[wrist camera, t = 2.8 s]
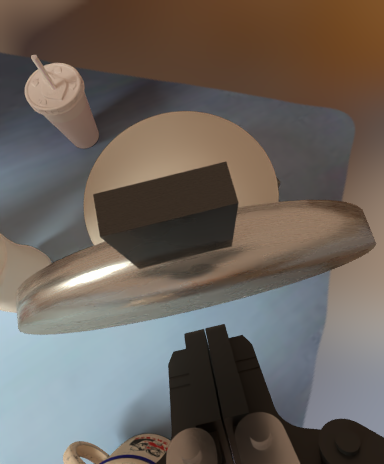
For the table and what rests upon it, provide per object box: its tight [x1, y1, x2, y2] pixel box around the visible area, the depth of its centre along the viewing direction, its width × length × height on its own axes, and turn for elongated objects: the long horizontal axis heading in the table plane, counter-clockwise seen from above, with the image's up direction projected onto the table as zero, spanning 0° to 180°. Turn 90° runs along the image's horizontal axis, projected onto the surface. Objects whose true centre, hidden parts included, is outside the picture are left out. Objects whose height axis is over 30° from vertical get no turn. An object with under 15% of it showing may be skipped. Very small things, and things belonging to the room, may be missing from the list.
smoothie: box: [25, 55, 99, 149], centre depth 40 cm, size 6×6×14 cm
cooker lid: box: [16, 162, 376, 335], centre depth 18 cm, size 22×19×2 cm
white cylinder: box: [84, 111, 280, 245], centre depth 37 cm, size 18×19×10 cm
